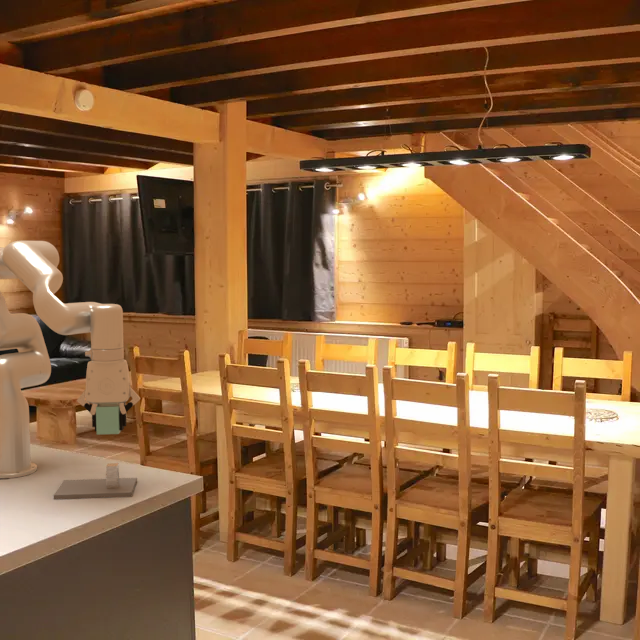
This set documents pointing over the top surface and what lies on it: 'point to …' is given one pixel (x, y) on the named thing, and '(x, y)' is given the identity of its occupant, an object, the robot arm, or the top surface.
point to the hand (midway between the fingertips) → (109, 428)
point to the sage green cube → (107, 418)
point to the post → (112, 475)
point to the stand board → (94, 488)
